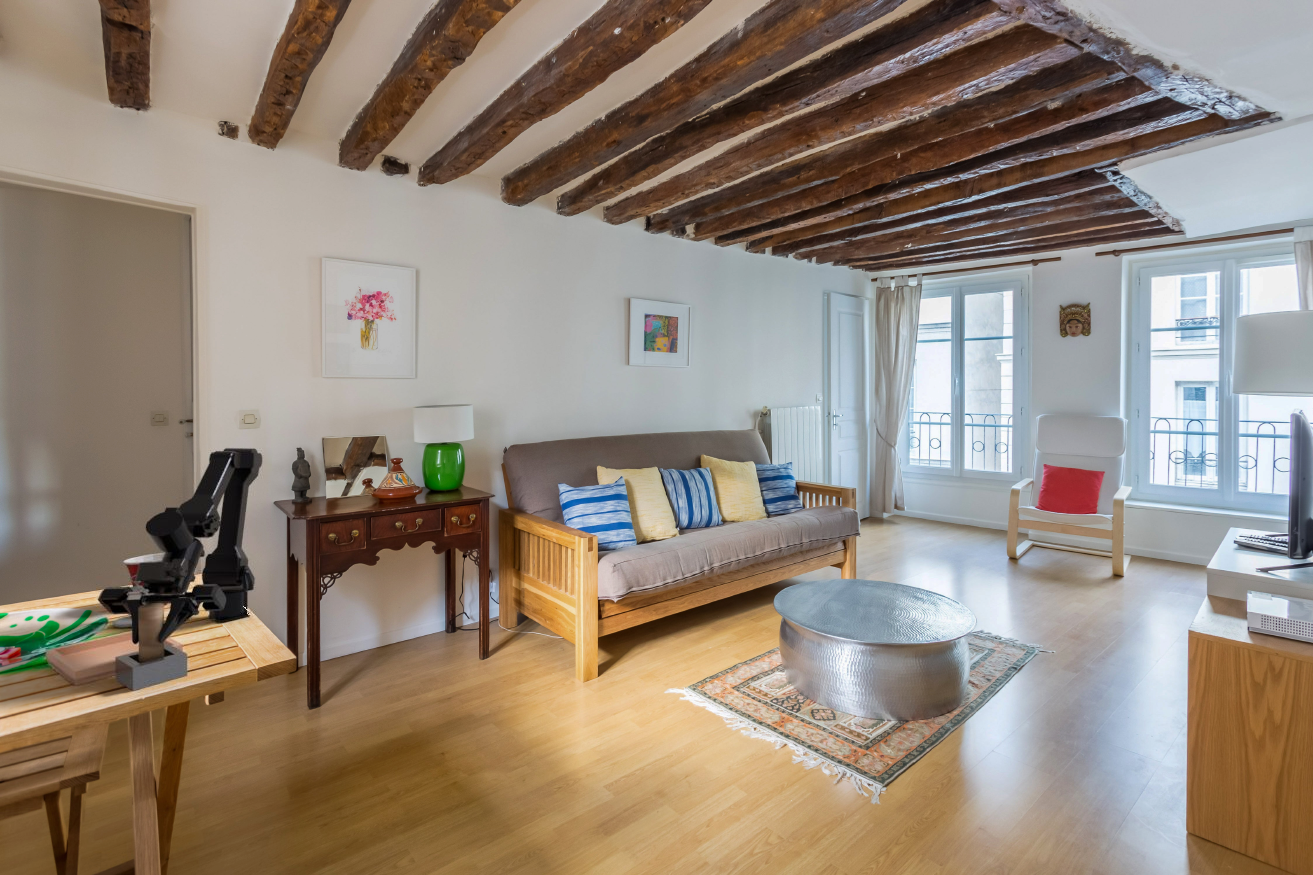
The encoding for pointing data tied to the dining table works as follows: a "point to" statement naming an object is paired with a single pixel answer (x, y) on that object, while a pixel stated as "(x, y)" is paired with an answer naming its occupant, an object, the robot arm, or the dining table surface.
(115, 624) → the pocket watch
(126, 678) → the socket
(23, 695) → the dining table surface
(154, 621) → the dowel
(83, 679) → the tray
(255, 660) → the dining table surface
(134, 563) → the plastic cup
